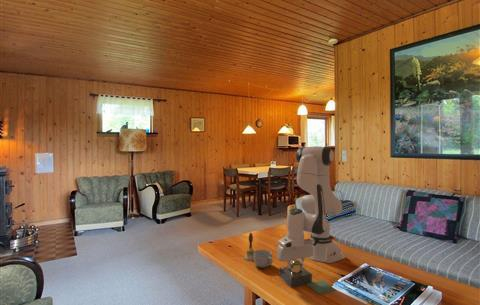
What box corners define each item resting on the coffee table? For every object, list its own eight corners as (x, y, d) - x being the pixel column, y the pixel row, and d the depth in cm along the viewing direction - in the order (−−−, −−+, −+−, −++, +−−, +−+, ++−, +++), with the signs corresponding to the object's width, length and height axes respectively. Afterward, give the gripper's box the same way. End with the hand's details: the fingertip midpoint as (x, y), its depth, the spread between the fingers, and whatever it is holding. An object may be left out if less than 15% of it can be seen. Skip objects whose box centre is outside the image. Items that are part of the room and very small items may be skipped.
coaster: (323, 281, 141) (323, 280, 141) (336, 291, 132) (336, 289, 132) (306, 284, 138) (306, 283, 138) (318, 294, 129) (318, 293, 129)
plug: (297, 277, 146) (297, 258, 146) (301, 281, 141) (301, 262, 141) (289, 278, 144) (289, 260, 144) (293, 283, 140) (293, 263, 139)
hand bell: (256, 255, 175) (256, 230, 175) (257, 260, 167) (257, 235, 166) (243, 255, 175) (243, 231, 174) (244, 261, 167) (244, 235, 166)
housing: (299, 273, 150) (299, 263, 150) (311, 283, 139) (311, 273, 139) (279, 276, 146) (279, 266, 146) (291, 287, 135) (291, 276, 135)
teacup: (250, 263, 163) (250, 250, 163) (267, 260, 167) (267, 247, 167) (260, 273, 150) (260, 259, 150) (278, 270, 154) (278, 256, 154)
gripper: (309, 236, 149) (309, 261, 149) (275, 240, 142) (275, 267, 142) (315, 240, 143) (315, 266, 143) (281, 245, 136) (281, 272, 136)
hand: (295, 266), depth 143 cm, fingers closed on plug, 5 cm apart
